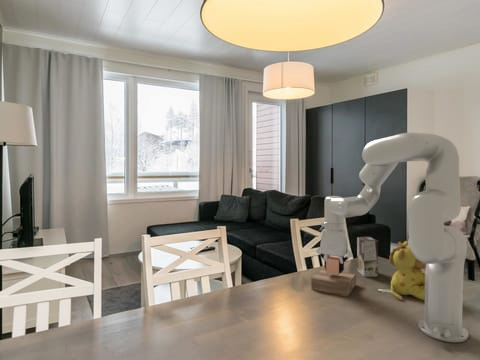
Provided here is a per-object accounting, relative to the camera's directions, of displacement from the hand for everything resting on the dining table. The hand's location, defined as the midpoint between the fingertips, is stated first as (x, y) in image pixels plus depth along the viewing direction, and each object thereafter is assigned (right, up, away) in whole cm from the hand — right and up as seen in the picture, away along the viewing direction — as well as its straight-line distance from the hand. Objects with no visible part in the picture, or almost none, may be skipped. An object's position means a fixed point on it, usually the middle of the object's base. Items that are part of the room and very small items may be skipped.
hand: (334, 270), depth 132 cm
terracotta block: (0, -1, 0) cm, 1 cm away
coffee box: (+20, -6, +16) cm, 26 cm away
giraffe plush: (+29, -7, -6) cm, 31 cm away
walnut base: (0, -7, 0) cm, 7 cm away
